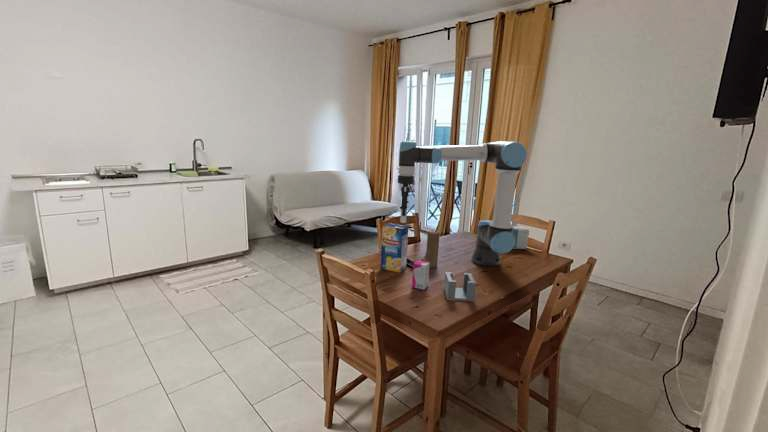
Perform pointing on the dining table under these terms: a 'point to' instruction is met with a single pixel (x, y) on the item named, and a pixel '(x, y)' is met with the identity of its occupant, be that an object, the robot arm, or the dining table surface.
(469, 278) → the socket block
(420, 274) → the supplement box
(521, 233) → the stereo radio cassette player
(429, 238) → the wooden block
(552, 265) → the dining table surface
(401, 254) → the beverage box
